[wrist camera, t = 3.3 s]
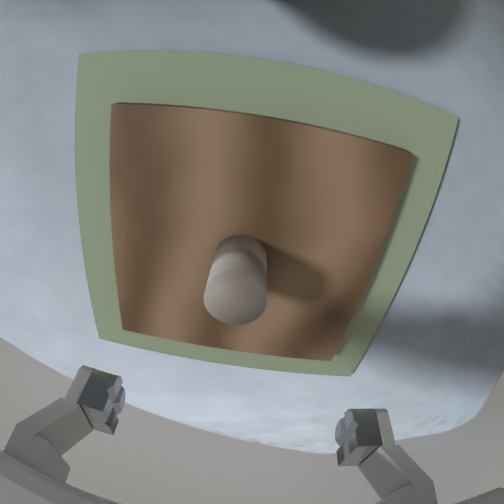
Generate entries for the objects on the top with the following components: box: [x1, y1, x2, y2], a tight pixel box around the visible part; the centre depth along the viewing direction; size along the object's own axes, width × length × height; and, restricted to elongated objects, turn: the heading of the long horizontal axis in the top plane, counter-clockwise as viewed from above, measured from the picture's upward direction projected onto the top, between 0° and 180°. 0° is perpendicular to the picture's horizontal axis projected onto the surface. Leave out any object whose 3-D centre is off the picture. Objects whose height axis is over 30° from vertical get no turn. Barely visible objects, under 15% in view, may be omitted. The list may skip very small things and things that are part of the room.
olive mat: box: [75, 50, 459, 376], centre depth 20 cm, size 22×22×1 cm
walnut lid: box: [109, 102, 413, 361], centre depth 17 cm, size 16×16×5 cm
